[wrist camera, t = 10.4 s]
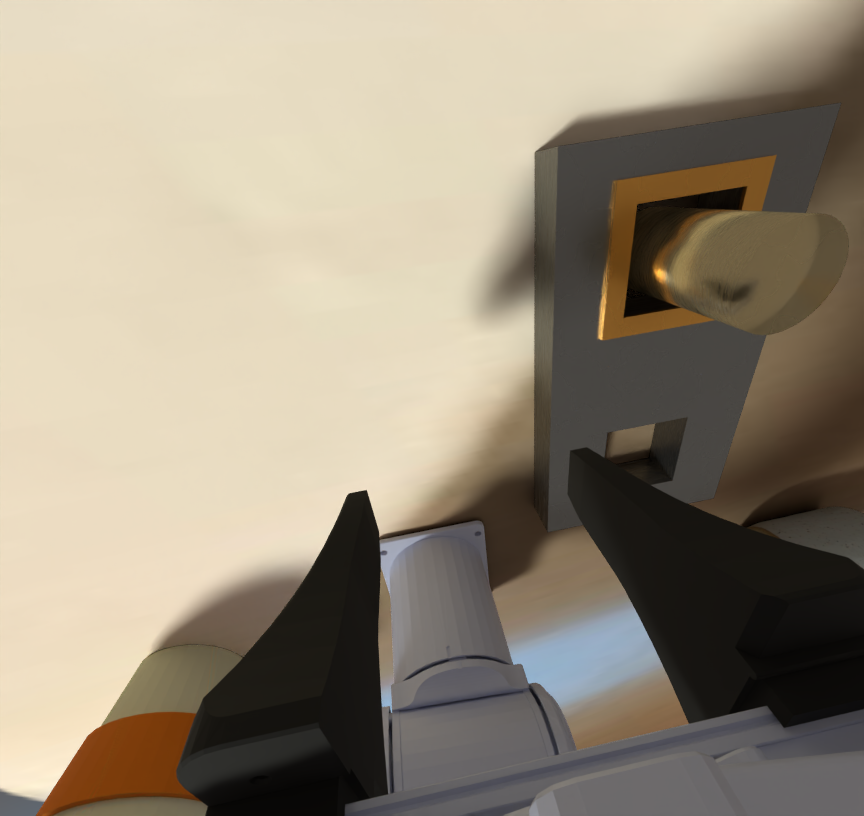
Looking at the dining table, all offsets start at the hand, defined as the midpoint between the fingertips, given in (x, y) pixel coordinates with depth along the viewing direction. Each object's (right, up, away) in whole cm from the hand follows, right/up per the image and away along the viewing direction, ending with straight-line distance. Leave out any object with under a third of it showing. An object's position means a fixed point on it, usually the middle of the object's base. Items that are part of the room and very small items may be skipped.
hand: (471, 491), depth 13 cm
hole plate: (+11, +6, +10) cm, 16 cm away
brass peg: (+10, +11, +7) cm, 16 cm away
